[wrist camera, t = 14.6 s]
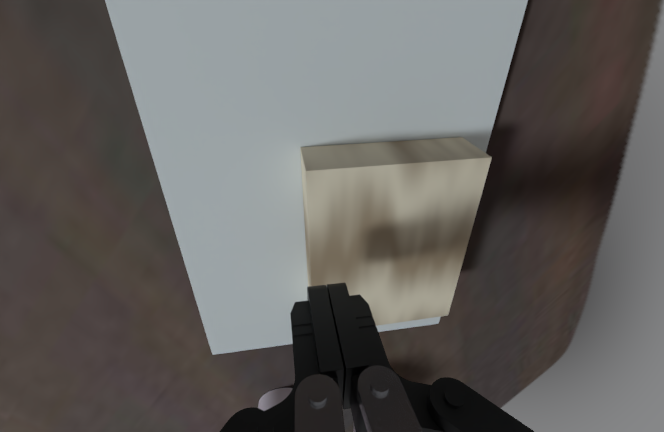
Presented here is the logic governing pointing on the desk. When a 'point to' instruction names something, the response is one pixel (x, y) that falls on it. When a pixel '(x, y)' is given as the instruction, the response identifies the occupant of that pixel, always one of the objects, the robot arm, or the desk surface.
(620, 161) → the desk surface
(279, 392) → the smoothie
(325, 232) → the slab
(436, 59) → the mat
